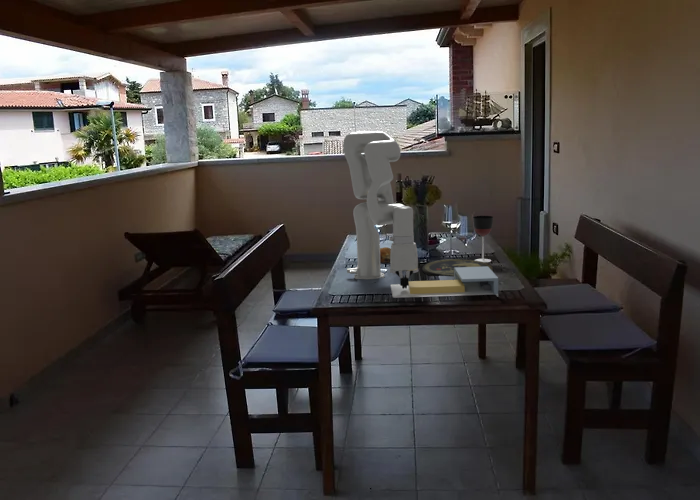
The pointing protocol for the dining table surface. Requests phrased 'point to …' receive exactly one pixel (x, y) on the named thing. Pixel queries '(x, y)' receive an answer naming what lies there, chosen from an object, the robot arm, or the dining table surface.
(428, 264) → the decorative plate
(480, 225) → the wineglass
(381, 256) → the bread roll
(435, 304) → the dining table surface
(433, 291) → the ochre panel
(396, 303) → the dining table surface
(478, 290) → the overhang dock
